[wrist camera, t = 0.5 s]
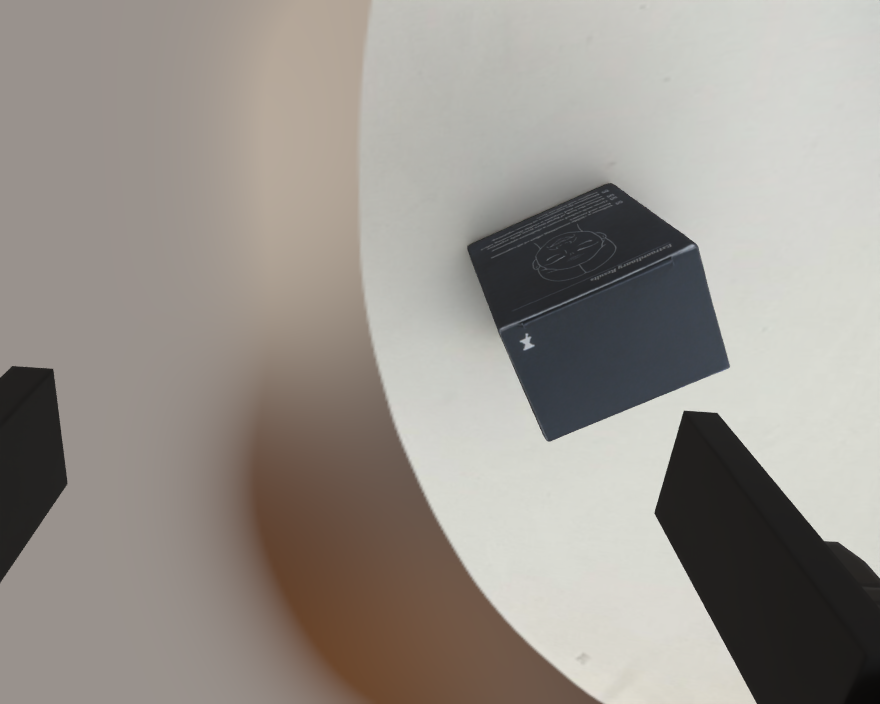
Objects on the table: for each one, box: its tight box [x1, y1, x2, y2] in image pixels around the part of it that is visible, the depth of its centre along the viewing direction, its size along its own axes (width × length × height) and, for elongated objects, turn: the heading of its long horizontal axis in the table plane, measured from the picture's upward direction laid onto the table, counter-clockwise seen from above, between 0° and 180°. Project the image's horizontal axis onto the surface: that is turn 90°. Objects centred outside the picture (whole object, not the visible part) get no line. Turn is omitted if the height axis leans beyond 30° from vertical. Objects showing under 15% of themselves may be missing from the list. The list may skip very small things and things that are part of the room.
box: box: [467, 183, 730, 441], centre depth 32 cm, size 8×6×11 cm
